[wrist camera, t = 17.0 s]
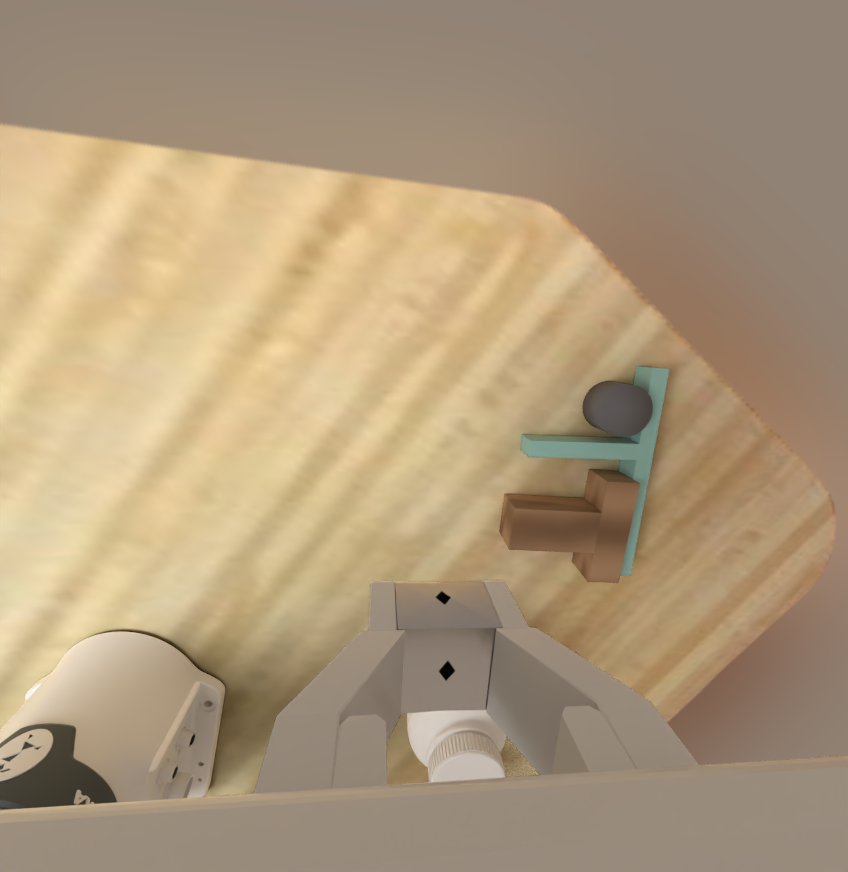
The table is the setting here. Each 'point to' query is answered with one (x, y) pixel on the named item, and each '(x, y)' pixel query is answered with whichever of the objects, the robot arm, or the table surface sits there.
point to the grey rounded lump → (618, 408)
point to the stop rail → (615, 450)
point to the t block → (577, 524)
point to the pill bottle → (457, 744)
